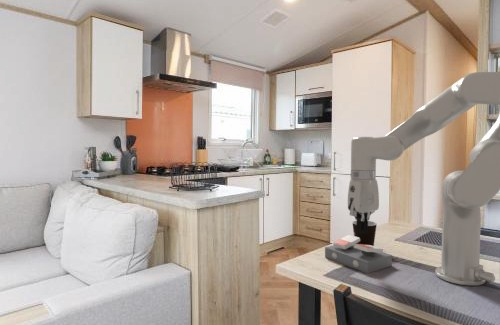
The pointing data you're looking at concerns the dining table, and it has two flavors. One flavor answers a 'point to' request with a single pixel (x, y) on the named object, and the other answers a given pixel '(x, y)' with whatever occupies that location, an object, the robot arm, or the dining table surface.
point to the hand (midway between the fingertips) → (362, 232)
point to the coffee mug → (367, 237)
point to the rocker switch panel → (359, 258)
